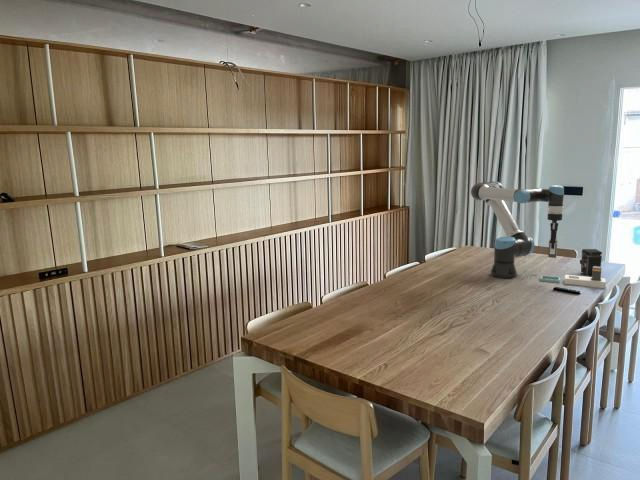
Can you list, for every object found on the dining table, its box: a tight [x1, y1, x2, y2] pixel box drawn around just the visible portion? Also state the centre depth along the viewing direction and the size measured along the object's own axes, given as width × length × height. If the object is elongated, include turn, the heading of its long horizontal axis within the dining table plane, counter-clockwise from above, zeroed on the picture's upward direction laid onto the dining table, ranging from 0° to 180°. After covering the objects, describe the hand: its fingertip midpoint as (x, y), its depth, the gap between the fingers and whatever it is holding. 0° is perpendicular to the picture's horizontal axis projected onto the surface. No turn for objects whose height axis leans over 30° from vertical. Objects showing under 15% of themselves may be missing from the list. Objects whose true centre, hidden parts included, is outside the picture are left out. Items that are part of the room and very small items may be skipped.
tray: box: [539, 275, 561, 284], centre depth 273 cm, size 10×8×2 cm
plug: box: [547, 238, 558, 259], centre depth 270 cm, size 4×4×10 cm
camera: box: [579, 248, 603, 276], centre depth 285 cm, size 10×10×15 cm
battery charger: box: [564, 266, 607, 289], centre depth 264 cm, size 20×9×10 cm, turn 61°
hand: (552, 253), depth 270 cm, fingers closed on plug, 4 cm apart
